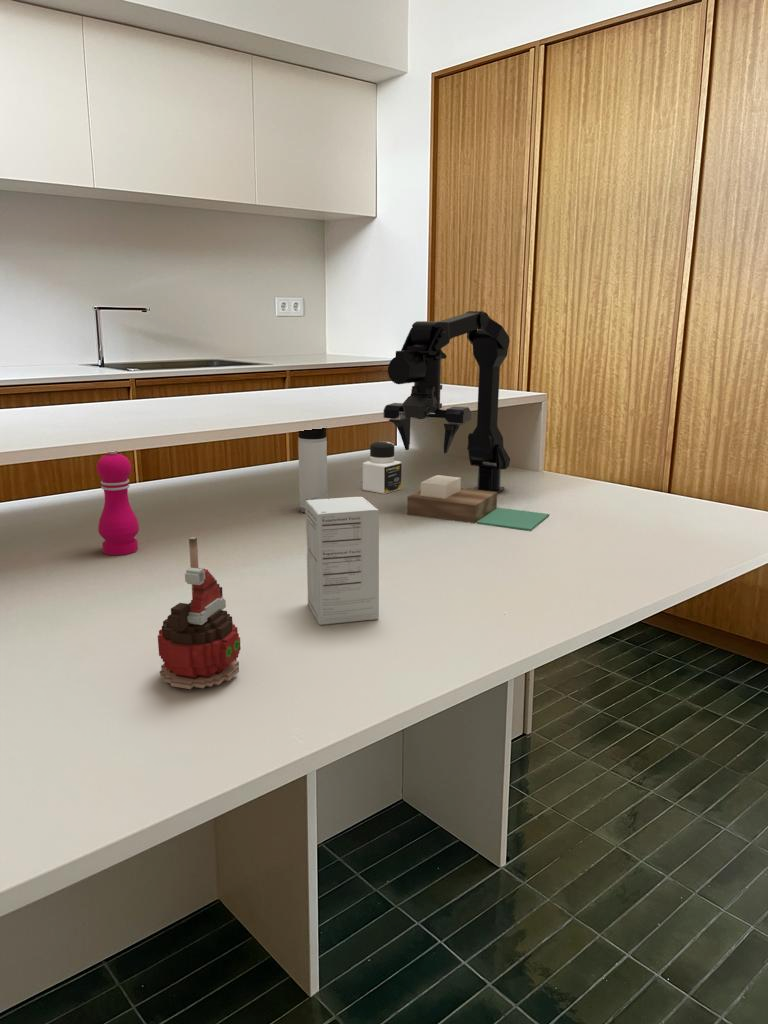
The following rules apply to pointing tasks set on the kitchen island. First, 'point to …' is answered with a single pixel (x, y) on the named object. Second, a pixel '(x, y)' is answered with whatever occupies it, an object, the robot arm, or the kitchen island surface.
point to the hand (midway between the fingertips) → (426, 451)
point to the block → (440, 486)
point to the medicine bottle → (382, 469)
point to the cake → (199, 634)
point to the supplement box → (342, 559)
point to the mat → (513, 519)
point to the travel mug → (312, 466)
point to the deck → (454, 505)
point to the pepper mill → (117, 506)
